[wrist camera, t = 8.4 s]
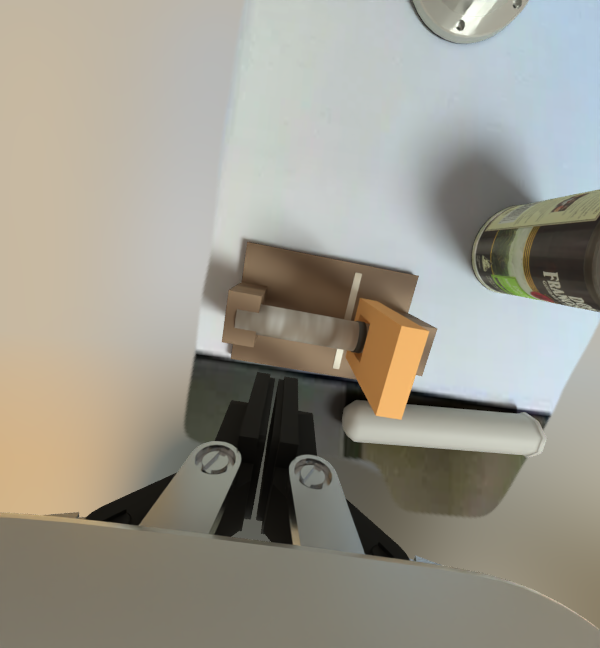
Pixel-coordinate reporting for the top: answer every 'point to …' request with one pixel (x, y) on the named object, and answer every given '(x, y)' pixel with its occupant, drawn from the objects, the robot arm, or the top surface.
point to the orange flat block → (387, 358)
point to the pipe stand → (309, 309)
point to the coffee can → (544, 251)
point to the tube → (446, 429)
